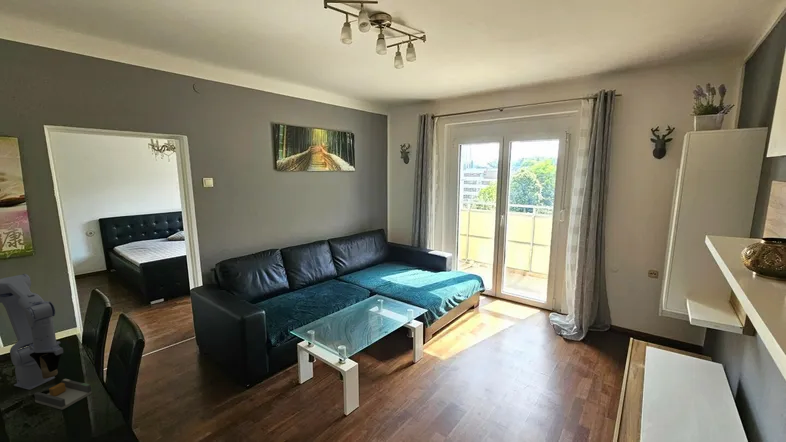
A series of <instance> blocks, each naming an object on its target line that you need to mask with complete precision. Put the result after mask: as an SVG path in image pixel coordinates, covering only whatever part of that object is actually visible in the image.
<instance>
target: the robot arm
mask: <svg viewBox="0 0 786 442" xmlns="http://www.w3.org/2000/svg"><path fill="white" fill-rule="evenodd" d="M31 287H32V280H31V277H30V276H29V274H27V273H22V274H18V275H13V276H8V277H7V276H6V277H3V278H0V303H1V304H2V305H3V307H4V308H5V311H6V313H7V315H8V319H9V321H10V324H11V327H12V329H13V333H14V335H15V337H16V340H17V341H16V342H15V343H14V344H13V345H12V346H11V347H10V350H9V353H10V359H11V363H12V364H13V366H15V369H14V372H15V379H16V383H15V384H13V386H14V387H18V388H21V389H25V390H28V391H29V390H30V391H31V390H32V389H35V388H37V387H39V386H41V385H44V384H45V383H47V382H50V381H52V380H54V379H55V378H56V377H55V376H53V377H51V378H46V379H44V378H42V371H41V364H40V356H41V358H42V359H43V360H44V361H45V363H46V365H47V368H48V370H49V372H52V371H54V370H56V369H57V370H58V369H59V363H60V359H61V357H62V355H63V354H64V348H63V347H61V346H60V344H61V341H57V338H56V332H55V331H56V330H55V323H54V317H55V315H56V309H55V306H54V303H52V301H47V300H44V299H43V297H41V295H40V294H38V293H36V292H32V291H31ZM44 354H46V355H44ZM42 355H44V356H42Z"/></svg>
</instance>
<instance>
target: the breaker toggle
mask: <svg viewBox="0 0 786 442" xmlns="http://www.w3.org/2000/svg"><path fill="white" fill-rule="evenodd" d="M48 390H49V392H48V393H50V395H52V396H57V395H59V394H61V393H63V392H65V391H66V388H65V384H64V383H62V382H59V383H57V384H56V385H53V386H52V387H49V388H48Z"/></svg>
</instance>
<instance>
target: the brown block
mask: <svg viewBox="0 0 786 442" xmlns="http://www.w3.org/2000/svg"><path fill="white" fill-rule="evenodd" d="M44 355H46V354H44ZM44 355H42V356H44ZM40 364H41V371H42V378H44V379H46V378H51V377H53V376H54V377H55V376H57V375H58V373H59V371H58V368H57V369H56V370H54V371H52V372H49V370H48V368H47V365H46V363H45V361H44V360H43V359H42V358H41V356H40Z"/></svg>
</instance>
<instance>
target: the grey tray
mask: <svg viewBox="0 0 786 442" xmlns="http://www.w3.org/2000/svg"><path fill="white" fill-rule="evenodd" d="M61 383H64V384H65V388H66V391H65V392H63V393H61V394H59V395H57V396H52V395H50V392H47V393H44V392H43V393H42V392H39V391H37V392H35V393H34V392H33V393H34V395H33V396H34V402H35V403H37V404H40V405H44V406H47V407H50V408H54V409H59V410H65V409H66V408H68V407H70V406H73V404H75V403H78V402H79V401H81V400H83V399H85V398H86V397H88V396H90V395H91V394H93V392H92V386H91V384H89V383H86V382H79V381H75V380H71V379H68V378H63V379H62V380H61Z"/></svg>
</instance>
